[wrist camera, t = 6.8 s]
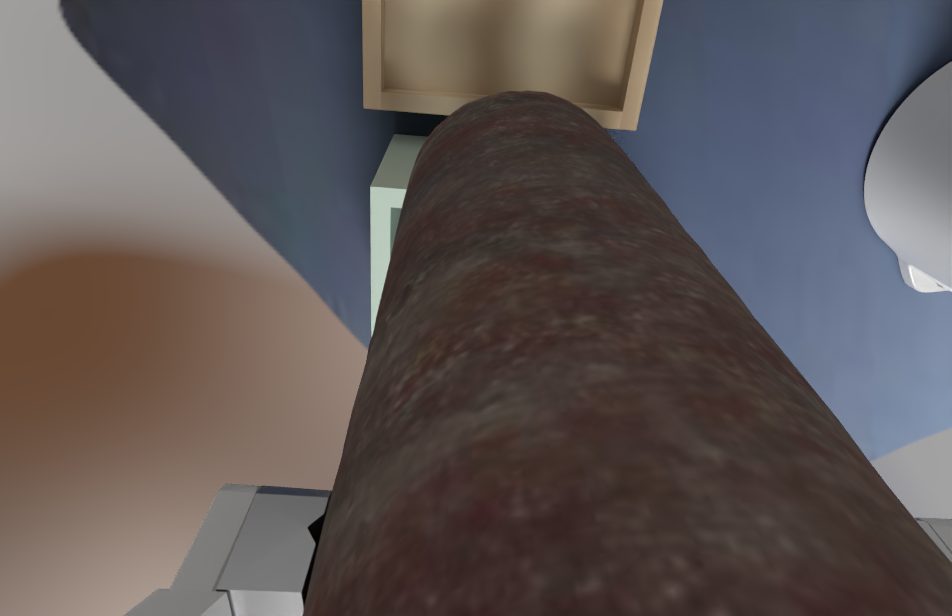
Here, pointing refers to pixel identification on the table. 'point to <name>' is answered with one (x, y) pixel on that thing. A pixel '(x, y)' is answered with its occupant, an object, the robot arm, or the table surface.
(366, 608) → the wooden log
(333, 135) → the table surface
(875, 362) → the table surface
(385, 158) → the mint green open box
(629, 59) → the tray
